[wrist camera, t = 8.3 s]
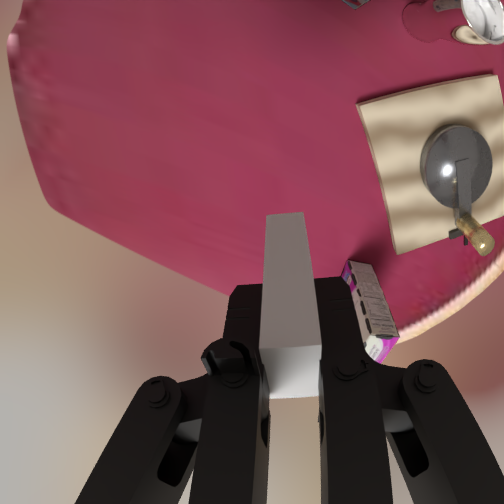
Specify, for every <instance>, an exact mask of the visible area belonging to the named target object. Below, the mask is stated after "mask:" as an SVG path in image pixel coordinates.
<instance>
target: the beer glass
mask: <svg viewBox="0 0 504 504" xmlns="http://www.w3.org/2000/svg"><path fill="white" fill-rule="evenodd" d="M403 23H404V25H405V27H406V29H407V31H408V32H409V33H410V34H411V35H412V36H413V37H414V38H415V39H417V40H419V41H422V42H426V43H430V42H434V41H436V40H439V39H443V40H447V41H450V42H454V43H459V44H463V45H490V44H495V45H497V44H501V43H503V42H504V7H503V5H502V3H501V2H500V0H426V1H425V2H423V3H411V4H409V5H408V6H406V8H405V9H404V11H403Z"/></svg>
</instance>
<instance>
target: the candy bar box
mask: <svg viewBox="0 0 504 504" xmlns="http://www.w3.org/2000/svg"><path fill="white" fill-rule="evenodd" d="M341 277H342V278H343V279H344V280H345V281H346V283H347V284H348V285H349V286H350V289H351V293H352V297H353V301H354V305H355V310H356V313H357V318H358V322H359V326H360V330H361V335H362V339H363V344H364V347H365V350H366V352H367V353H368V355H369V356H370V357H371V358H372V359H373V360H375V361H376V362H378V363H380V364H381V363H382V361H383V360H384V358H385V357H386V356H387V355H388V353H389V352H390V351H391V349H392V348H393V346H394V345H395V344H396V342H397V341H398V339H399V338H400V336H399V333H398V331H397V328H396V325H395V322H394V320H393V317H392V314H391V312H390V309H389V306H388V304H387V302H386V299H385V296H384V293H383V291H382V289H381V286H380V284H379V281H378V279H377V276H376V274H375V271H374V269H373V267H372V265H371V264H367V263H360V262H356V261H350V260H347V262H346V265H345V267H344V270H343V272H342V275H341Z"/></svg>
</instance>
